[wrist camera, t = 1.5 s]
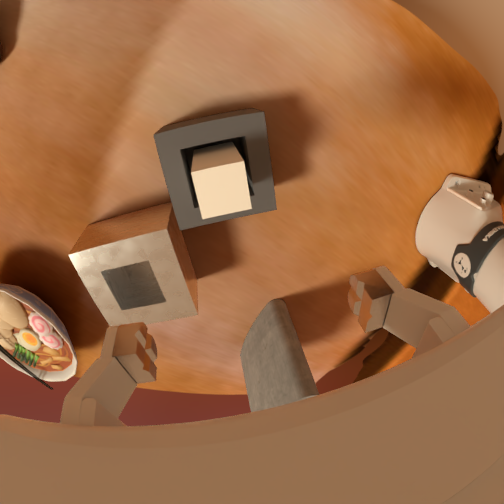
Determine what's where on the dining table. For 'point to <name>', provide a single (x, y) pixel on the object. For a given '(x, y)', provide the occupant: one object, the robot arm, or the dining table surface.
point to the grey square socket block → (209, 134)
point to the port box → (137, 267)
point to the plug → (220, 180)
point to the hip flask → (275, 361)
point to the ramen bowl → (34, 337)
